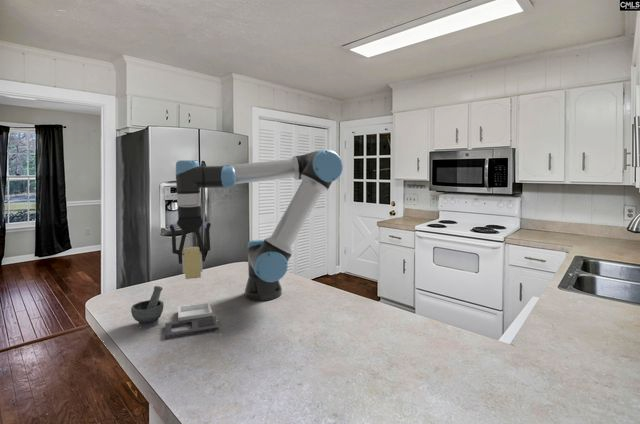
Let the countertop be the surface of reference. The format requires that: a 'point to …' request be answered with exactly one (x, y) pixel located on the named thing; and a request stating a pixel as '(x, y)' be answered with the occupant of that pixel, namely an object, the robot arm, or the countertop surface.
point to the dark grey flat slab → (197, 327)
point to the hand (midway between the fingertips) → (192, 271)
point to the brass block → (192, 262)
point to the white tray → (194, 311)
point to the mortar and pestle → (148, 310)
